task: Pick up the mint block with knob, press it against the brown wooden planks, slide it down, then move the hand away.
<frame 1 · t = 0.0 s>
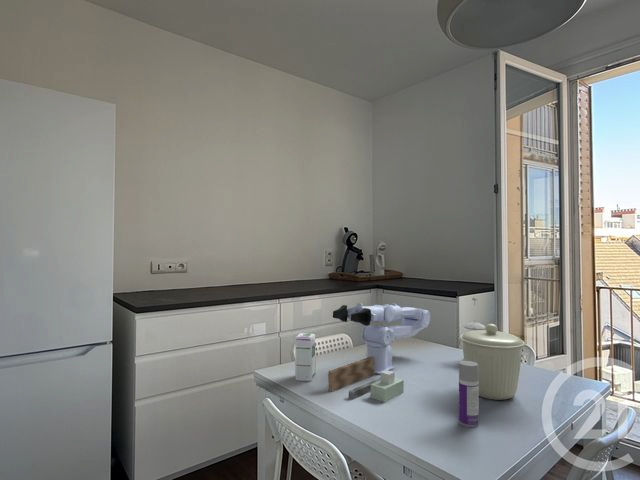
hand: (342, 316, 125), 22 cm above the table, tool horizontal, fingers open, 7 cm apart
container: (468, 423, 97), on the table
canister: (491, 394, 117), on the table
mint block with knob: (387, 395, 115), on the table
syrup box: (305, 378, 129), on the table
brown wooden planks: (352, 382, 126), on the table
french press: (474, 363, 147), on the table
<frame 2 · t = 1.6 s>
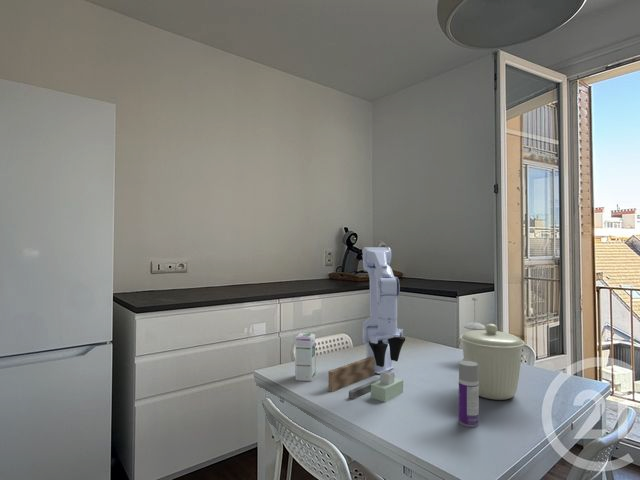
hand: (387, 363, 115), 9 cm above the table, tool pointing down, fingers open, 7 cm apart
nothing on the table moved.
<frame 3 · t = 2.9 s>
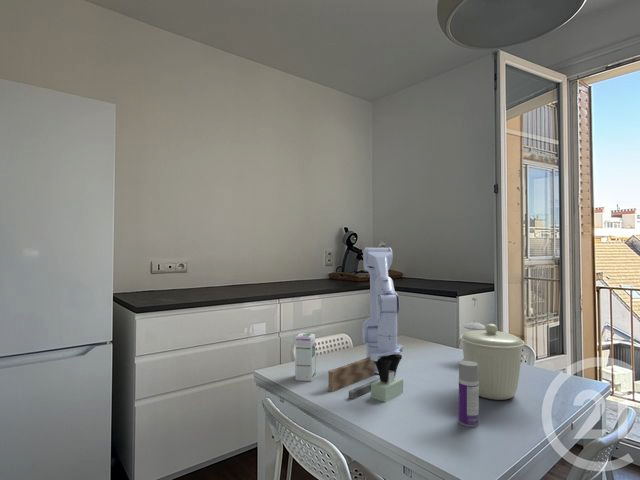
hand: (387, 380, 115), 4 cm above the table, tool pointing down, fingers closed on mint block with knob, 3 cm apart
mint block with knob: (387, 394, 115), on the table, touching gripper
everything else where it was.
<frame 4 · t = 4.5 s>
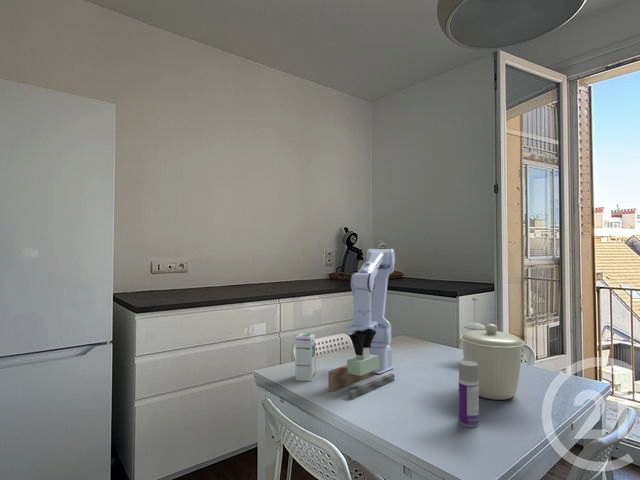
hand: (362, 353, 122), 10 cm above the table, tool pointing down, fingers closed on mint block with knob, 3 cm apart
mint block with knob: (363, 370, 121), point 5 cm above the table, touching gripper
everything else where it was.
when the fingers open (5 cm above the table, at t = 6.3 s): mint block with knob stays where it is, on the table.
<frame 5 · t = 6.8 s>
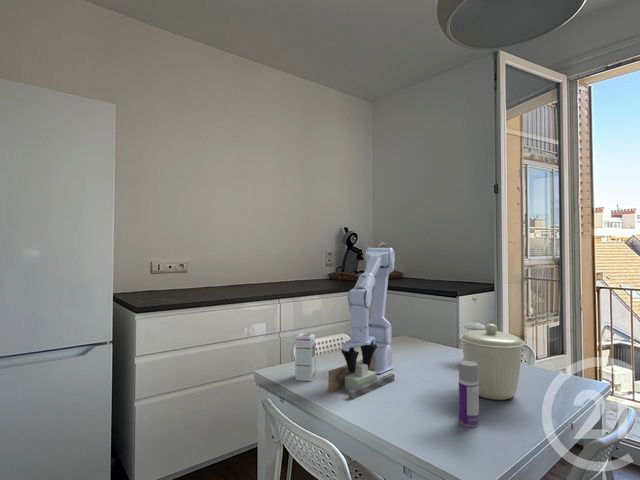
hand: (359, 369, 123), 5 cm above the table, tool pointing down, fingers open, 7 cm apart
mint block with knob: (360, 387, 122), on the table
everything else where it was.
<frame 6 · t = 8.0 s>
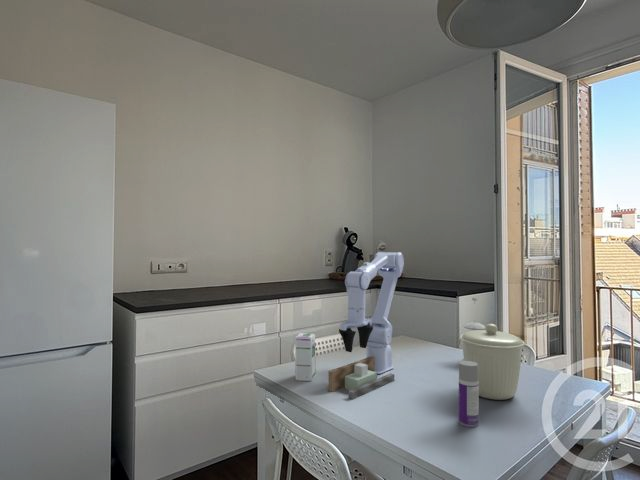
hand: (356, 349, 127), 10 cm above the table, tool pointing down, fingers open, 7 cm apart
nothing on the table moved.
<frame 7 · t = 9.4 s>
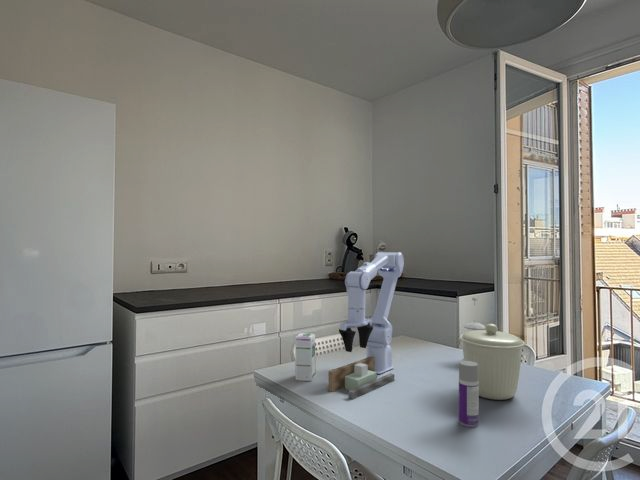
hand: (356, 349, 127), 10 cm above the table, tool pointing down, fingers open, 7 cm apart
nothing on the table moved.
at the end: mint block with knob inside the target area (0.1 cm from its centre), on the table; mint block with knob tilted 0°; the gripper is holding nothing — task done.
